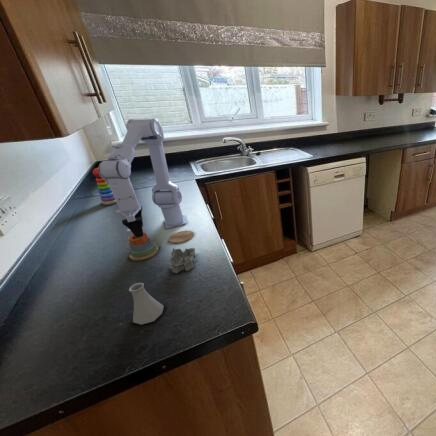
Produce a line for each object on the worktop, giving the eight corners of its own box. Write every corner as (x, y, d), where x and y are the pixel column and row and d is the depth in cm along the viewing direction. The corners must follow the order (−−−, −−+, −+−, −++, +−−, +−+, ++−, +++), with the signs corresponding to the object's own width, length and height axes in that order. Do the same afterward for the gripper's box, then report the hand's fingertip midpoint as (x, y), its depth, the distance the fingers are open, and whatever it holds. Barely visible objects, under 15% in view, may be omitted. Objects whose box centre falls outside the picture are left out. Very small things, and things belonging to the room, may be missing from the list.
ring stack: (130, 251, 101) (122, 233, 98) (158, 243, 105) (151, 226, 102) (129, 263, 94) (121, 245, 91) (159, 255, 98) (152, 237, 95)
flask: (168, 304, 77) (157, 276, 72) (155, 324, 71) (142, 296, 66) (143, 305, 77) (130, 277, 72) (127, 325, 70) (112, 297, 66)
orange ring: (131, 240, 98) (129, 235, 97) (148, 236, 101) (146, 231, 100) (130, 247, 94) (128, 242, 93) (148, 242, 97) (146, 237, 96)
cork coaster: (168, 235, 111) (168, 234, 111) (192, 229, 115) (191, 228, 115) (170, 245, 104) (169, 244, 104) (195, 238, 108) (194, 238, 108)
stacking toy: (99, 206, 138) (83, 171, 129) (106, 200, 145) (91, 166, 136) (117, 204, 140) (102, 169, 131) (122, 198, 147) (109, 164, 138)
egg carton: (175, 256, 98) (172, 247, 96) (198, 253, 99) (195, 243, 97) (168, 275, 88) (164, 265, 86) (193, 270, 90) (190, 260, 88)
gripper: (112, 191, 93) (127, 226, 99) (108, 206, 82) (125, 244, 88) (136, 187, 96) (149, 221, 102) (135, 201, 85) (150, 237, 91)
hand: (139, 231), depth 95 cm, fingers open, 7 cm apart
